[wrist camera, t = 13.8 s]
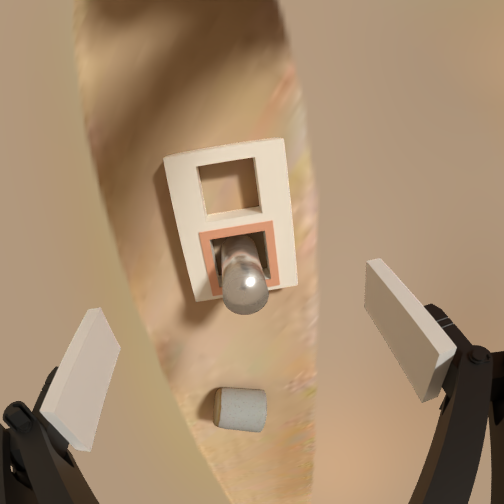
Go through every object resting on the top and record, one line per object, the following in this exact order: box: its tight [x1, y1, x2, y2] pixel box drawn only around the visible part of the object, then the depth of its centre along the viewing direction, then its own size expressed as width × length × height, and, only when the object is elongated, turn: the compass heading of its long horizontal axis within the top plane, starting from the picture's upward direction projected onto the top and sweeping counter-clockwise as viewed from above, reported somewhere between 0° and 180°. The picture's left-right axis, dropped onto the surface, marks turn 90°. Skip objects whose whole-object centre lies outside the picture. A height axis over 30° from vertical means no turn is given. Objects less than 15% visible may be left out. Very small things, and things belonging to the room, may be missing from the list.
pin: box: [221, 234, 269, 315], centre depth 35 cm, size 4×4×11 cm
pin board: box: [163, 137, 298, 302], centre depth 37 cm, size 18×13×3 cm
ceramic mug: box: [213, 388, 267, 432], centre depth 48 cm, size 11×8×8 cm
